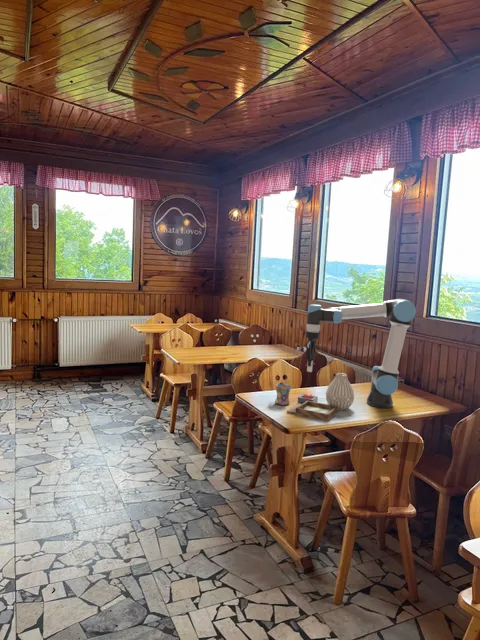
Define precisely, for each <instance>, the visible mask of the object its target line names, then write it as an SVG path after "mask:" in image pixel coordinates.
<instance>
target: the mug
mask: <svg viewBox="0 0 480 640" xmlns="http://www.w3.org/2000/svg"><path fill="white" fill-rule="evenodd" d="M291 389H292V385H290V384H286V383H277V384H275V391H276V397H275V398H276V399H275V400H274V402H275V404H277V405H281V406H286V405H290V403H291V402H290V399H289V396H290V395H289V394H290V392H291Z"/></svg>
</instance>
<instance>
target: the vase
mask: <svg viewBox="0 0 480 640" xmlns="http://www.w3.org/2000/svg"><path fill="white" fill-rule="evenodd" d="M347 375H348V374H347V373H343V372H342V373H341V372H338V373H336V374H335V376H334V379H332V380H331V382H330V384H328V386H327V389H326V391H325V398H326V399H325V400H326V402H327V404H328V405H333V406H338V411H346V410H348V409H349V408H351V406H352V405H353V404H354V400H355V392H354V389H353V386H352V384H351V382H350V381H349V380H348V379H349V378H348V376H347Z"/></svg>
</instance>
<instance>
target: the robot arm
mask: <svg viewBox="0 0 480 640" xmlns="http://www.w3.org/2000/svg"><path fill="white" fill-rule="evenodd" d="M416 308H417V307H415V304H414V303H413V302H412V301H410V300H409V299H405V298H395V299H390V300H384V301H383V302H381V303H379V302H378V303H370V304H369V303H368V304H359V305H357V304H356V305H347V306H338V307H337V306H336V307H334V306H333V307H329V306H328V307H327V308H322V305H321V304H315V303H314V304H309V305H308V307H307V313H306V314H307V316H306V324H305V327H306V329H305V330H306V332H305V338H306V339H307V344H306V345H305V348H306V351H305V352H306V356H305V357H306V359H305V361H307V365H306V366H307V368H306V372H308V373H312V372H313V366H314V365H313V364H314V361H315V360H316V359H315V358H316V352H317V346H318V342H317V340H319V338H320V328H321V322H322V323H332V324H333V323H334V324H340V323H342V321H343V320H349V319H350V320H351V319H362V318H373V317H375V318H376V317H384V318H389V323H390V325H391V326H390V329H389V334H388V338H387V342H386V346H385V351H384V355H383V357H382V358H383V359H382V362H381V365H380V366H379V365H374V366H373V367H372V370H371V373H372V374H371V384H370V391H369V393H368V396H367V398H366V404H367V405H369V406H371V407H376V408H382V409H388V408H392V407H394V406H393V405H394V402H393V397H392V395H393V394H394V393H396V391H397V390H398V387H399V383H398V380H399V375H400V371H399V369H398V368H399V364H400V359H401V355H402V351H403V347H404V343H405V338H406V334H407V330H408V329H409V328H410V327H411V326H412V322H413V319H415V316H416V313H417V309H416Z"/></svg>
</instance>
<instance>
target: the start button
mask: <svg viewBox="0 0 480 640" xmlns="http://www.w3.org/2000/svg"><path fill="white" fill-rule="evenodd" d="M303 394H304V398H309V399H312V396H313V394H311V393H303Z"/></svg>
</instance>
